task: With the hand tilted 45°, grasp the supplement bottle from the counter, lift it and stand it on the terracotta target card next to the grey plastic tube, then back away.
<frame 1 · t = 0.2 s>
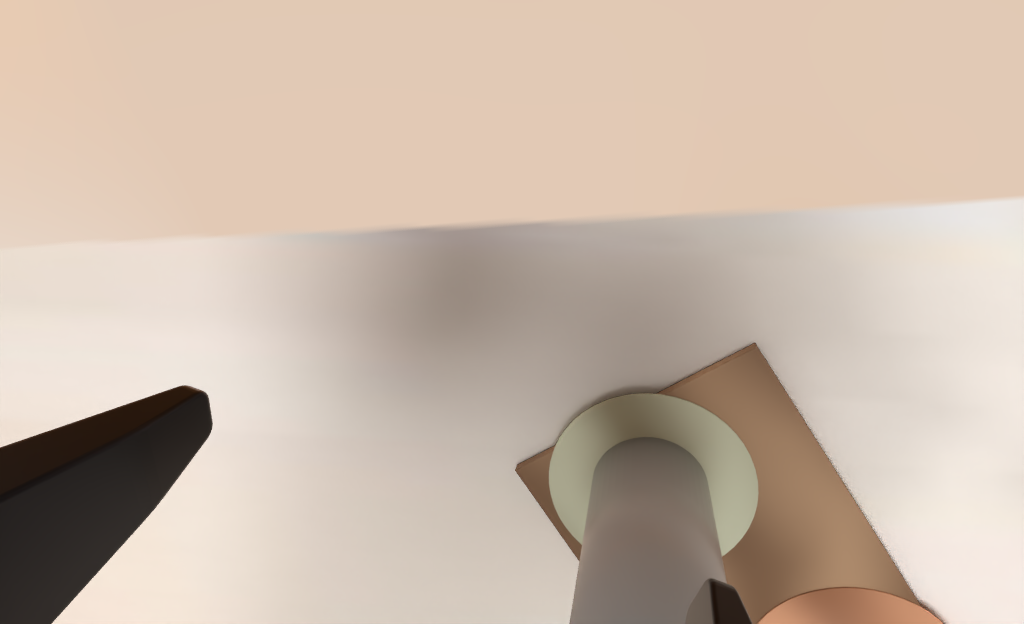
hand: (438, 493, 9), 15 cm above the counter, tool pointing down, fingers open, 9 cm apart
target card: (749, 592, 26), on the counter
grey tube: (649, 488, 25), point 1 cm above the counter, touching target card
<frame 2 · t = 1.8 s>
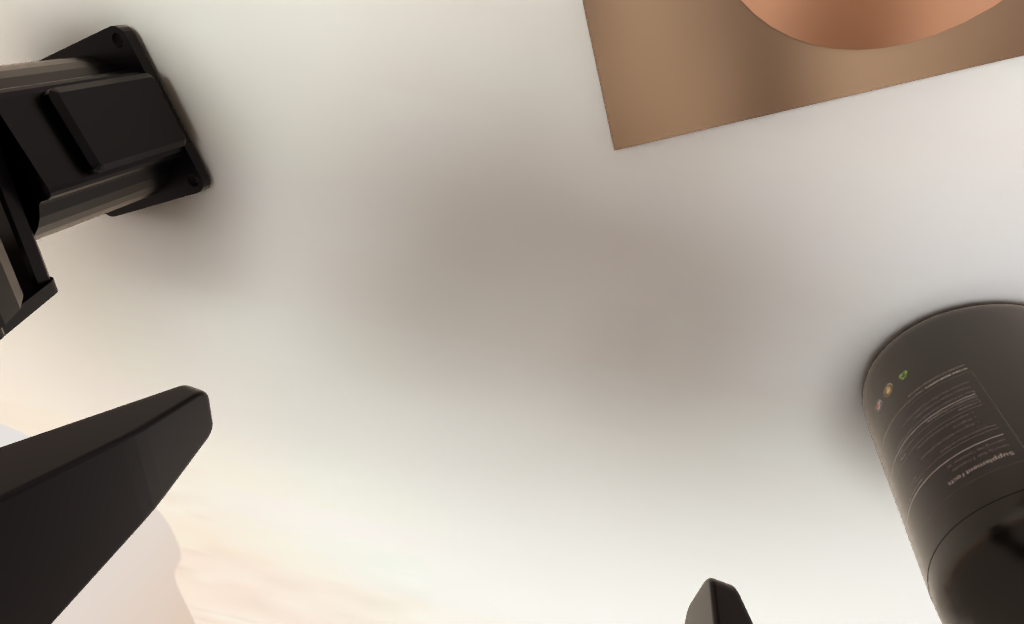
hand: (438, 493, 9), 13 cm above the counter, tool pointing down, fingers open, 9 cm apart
supplement bottle: (969, 380, 19), on the counter
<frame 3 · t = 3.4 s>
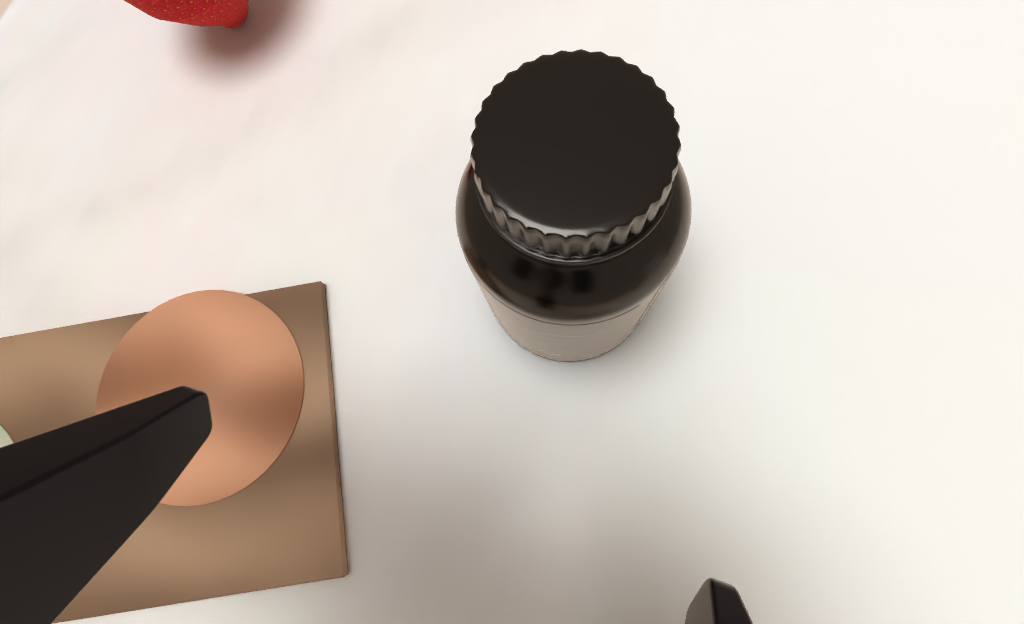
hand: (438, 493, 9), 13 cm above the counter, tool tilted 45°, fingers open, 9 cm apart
target card: (94, 461, 24), on the counter
supplement bottle: (566, 287, 24), on the counter
strawberry: (238, 23, 29), on the counter
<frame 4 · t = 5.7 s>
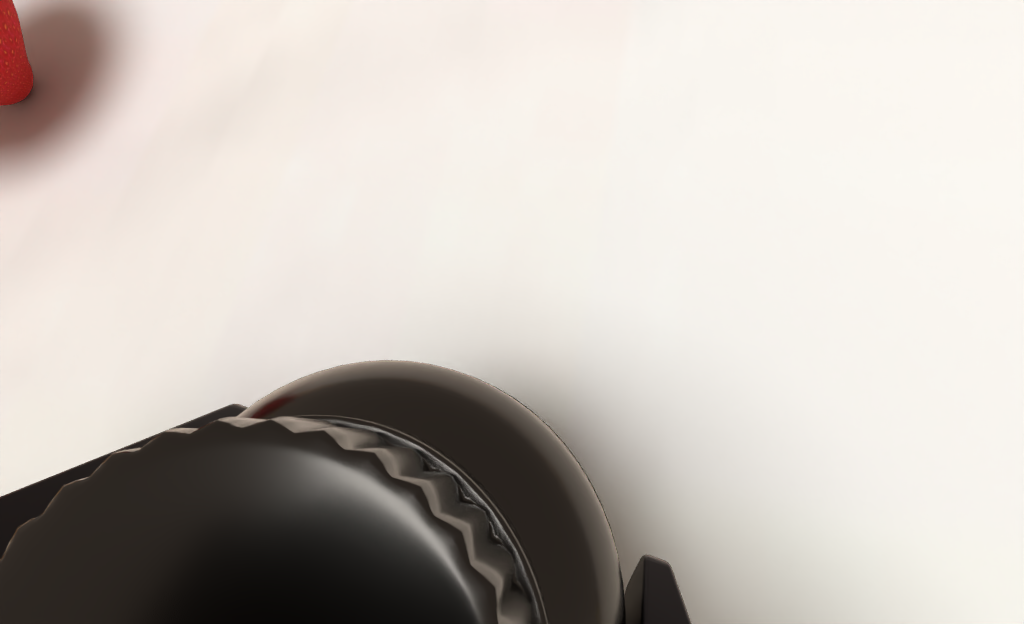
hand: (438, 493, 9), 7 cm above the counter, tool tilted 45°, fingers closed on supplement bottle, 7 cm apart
supplement bottle: (469, 525, 16), on the counter, touching gripper
strawberry: (25, 95, 20), on the counter
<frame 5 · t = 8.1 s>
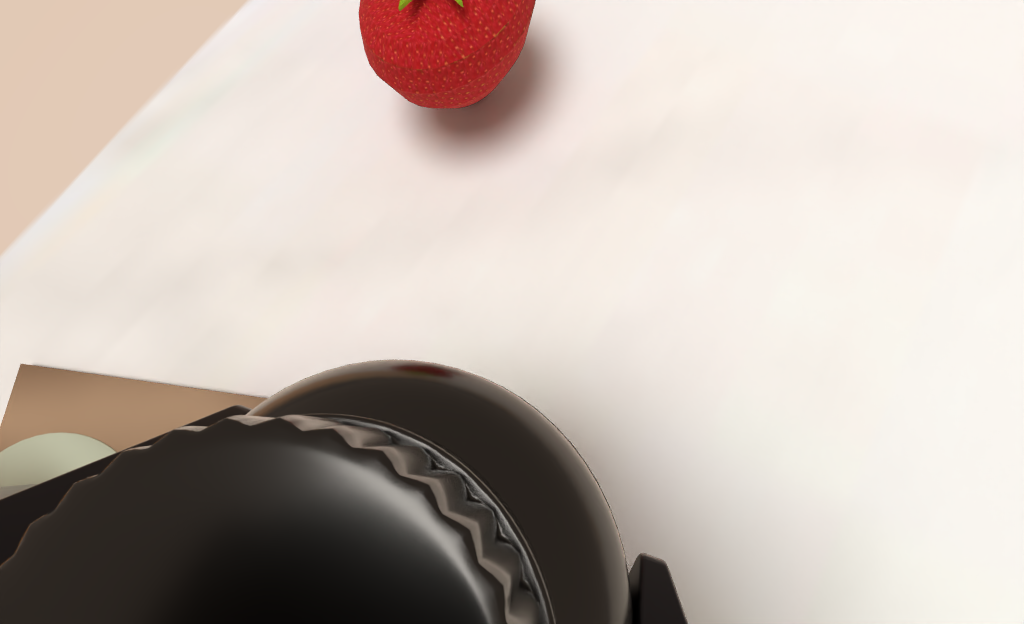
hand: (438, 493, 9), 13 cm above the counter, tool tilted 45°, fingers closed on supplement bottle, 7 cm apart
target card: (219, 547, 22), on the counter
supplement bottle: (475, 524, 16), point 6 cm above the counter, touching gripper
strawberry: (471, 96, 26), on the counter
when the fingers open (8 cm above the counter, at t = 10.4 s): supplement bottle stays where it is, resting on target card.
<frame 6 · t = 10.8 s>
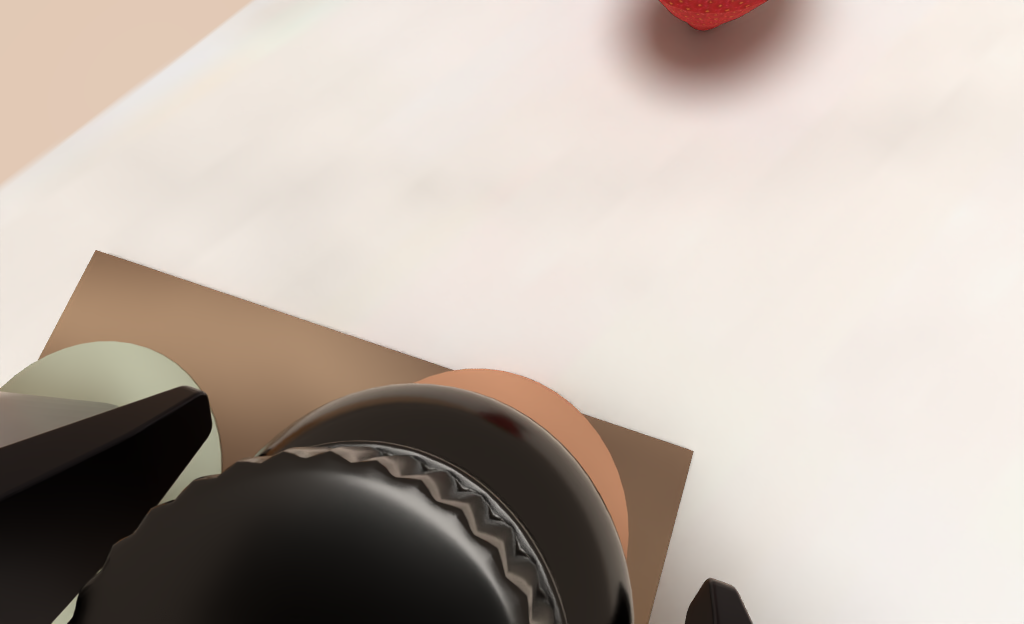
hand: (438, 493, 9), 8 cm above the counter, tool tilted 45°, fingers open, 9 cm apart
target card: (301, 527, 17), on the counter
supplement bottle: (480, 530, 17), resting on target card
grey tube: (80, 482, 18), point 1 cm above the counter, touching target card
strawberry: (699, 23, 21), on the counter
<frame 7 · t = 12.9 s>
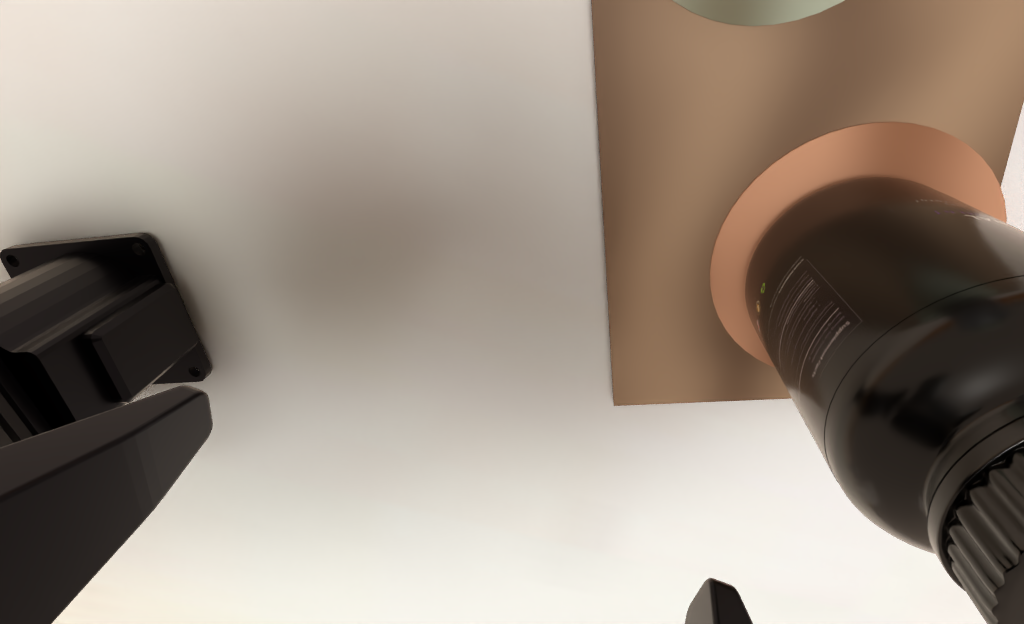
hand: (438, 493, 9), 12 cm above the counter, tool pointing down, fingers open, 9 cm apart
target card: (796, 110, 17), on the counter
supplement bottle: (842, 269, 19), resting on target card
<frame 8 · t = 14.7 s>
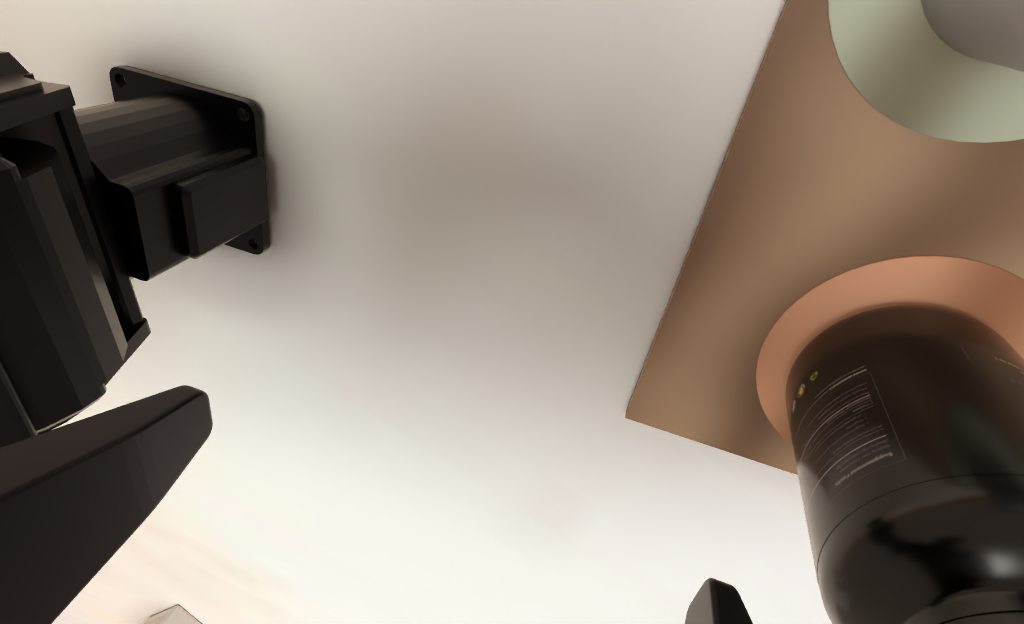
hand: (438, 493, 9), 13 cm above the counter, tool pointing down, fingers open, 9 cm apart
target card: (915, 222, 17), on the counter
supplement bottle: (888, 380, 19), resting on target card
skincare box: (184, 622, 48), on the counter
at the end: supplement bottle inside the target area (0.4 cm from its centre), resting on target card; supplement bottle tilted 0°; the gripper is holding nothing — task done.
